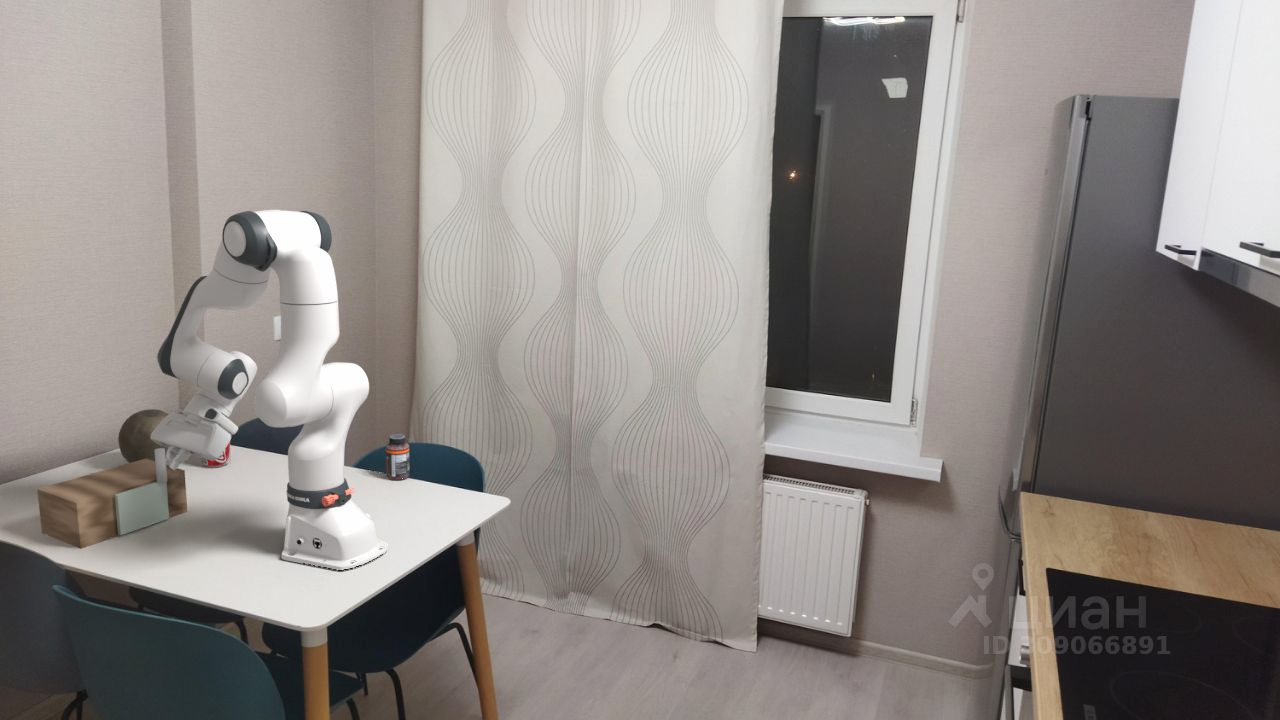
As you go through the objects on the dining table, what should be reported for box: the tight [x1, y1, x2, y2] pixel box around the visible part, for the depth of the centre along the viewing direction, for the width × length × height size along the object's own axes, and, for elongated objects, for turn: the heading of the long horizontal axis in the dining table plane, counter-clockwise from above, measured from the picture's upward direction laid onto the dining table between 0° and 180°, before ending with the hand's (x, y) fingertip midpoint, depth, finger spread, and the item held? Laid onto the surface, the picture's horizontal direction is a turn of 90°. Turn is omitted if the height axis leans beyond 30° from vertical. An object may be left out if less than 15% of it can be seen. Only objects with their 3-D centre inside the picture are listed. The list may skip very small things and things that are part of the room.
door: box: [115, 448, 170, 536], centre depth 189 cm, size 11×2×16 cm, turn 152°
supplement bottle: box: [385, 433, 411, 481], centre depth 228 cm, size 6×6×11 cm
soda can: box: [200, 441, 231, 469], centre depth 230 cm, size 7×7×12 cm
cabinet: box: [37, 459, 188, 549], centre depth 193 cm, size 24×14×10 cm, turn 152°
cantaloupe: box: [117, 408, 169, 464], centre depth 227 cm, size 14×14×15 cm
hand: (168, 467), depth 193 cm, fingers closed, pressing on door
